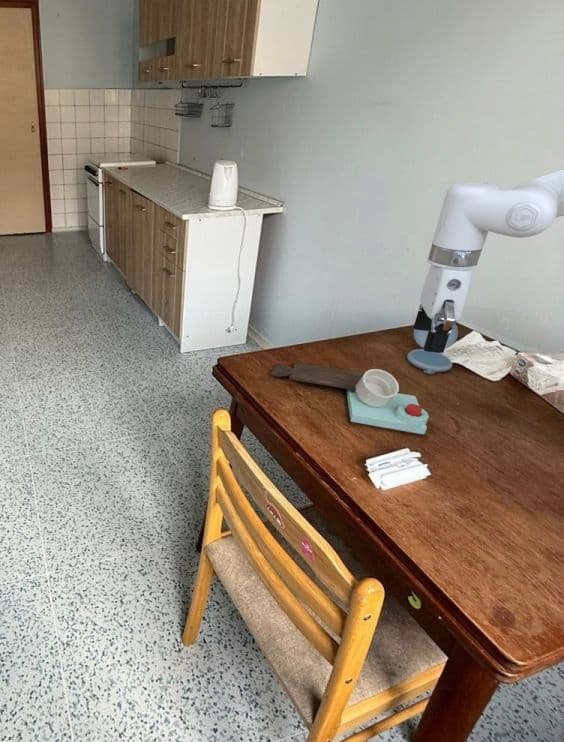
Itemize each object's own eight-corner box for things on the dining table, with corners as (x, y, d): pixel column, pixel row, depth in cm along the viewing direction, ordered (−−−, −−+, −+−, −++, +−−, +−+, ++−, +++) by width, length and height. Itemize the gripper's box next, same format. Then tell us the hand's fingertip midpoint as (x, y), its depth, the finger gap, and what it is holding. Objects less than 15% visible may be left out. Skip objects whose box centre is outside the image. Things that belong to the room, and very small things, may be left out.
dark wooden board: (276, 365, 124) (269, 379, 116) (277, 359, 124) (269, 372, 115) (388, 380, 113) (389, 397, 104) (389, 374, 112) (390, 390, 104)
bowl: (389, 385, 107) (398, 374, 103) (389, 412, 102) (399, 401, 99) (355, 376, 108) (363, 365, 104) (354, 402, 104) (362, 391, 100)
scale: (414, 403, 107) (418, 390, 106) (426, 435, 97) (431, 422, 96) (346, 392, 112) (349, 379, 110) (350, 422, 102) (354, 409, 100)
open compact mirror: (463, 318, 121) (466, 342, 110) (450, 355, 126) (451, 381, 115) (418, 310, 126) (417, 332, 114) (407, 346, 131) (404, 371, 119)
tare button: (418, 411, 100) (420, 405, 99) (420, 418, 97) (423, 412, 97) (404, 408, 100) (406, 402, 100) (406, 415, 98) (408, 409, 97)
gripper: (494, 272, 76) (461, 364, 84) (464, 244, 91) (439, 324, 98) (440, 268, 79) (413, 358, 86) (420, 241, 93) (398, 320, 101)
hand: (427, 340), depth 92 cm, fingers open, 9 cm apart
